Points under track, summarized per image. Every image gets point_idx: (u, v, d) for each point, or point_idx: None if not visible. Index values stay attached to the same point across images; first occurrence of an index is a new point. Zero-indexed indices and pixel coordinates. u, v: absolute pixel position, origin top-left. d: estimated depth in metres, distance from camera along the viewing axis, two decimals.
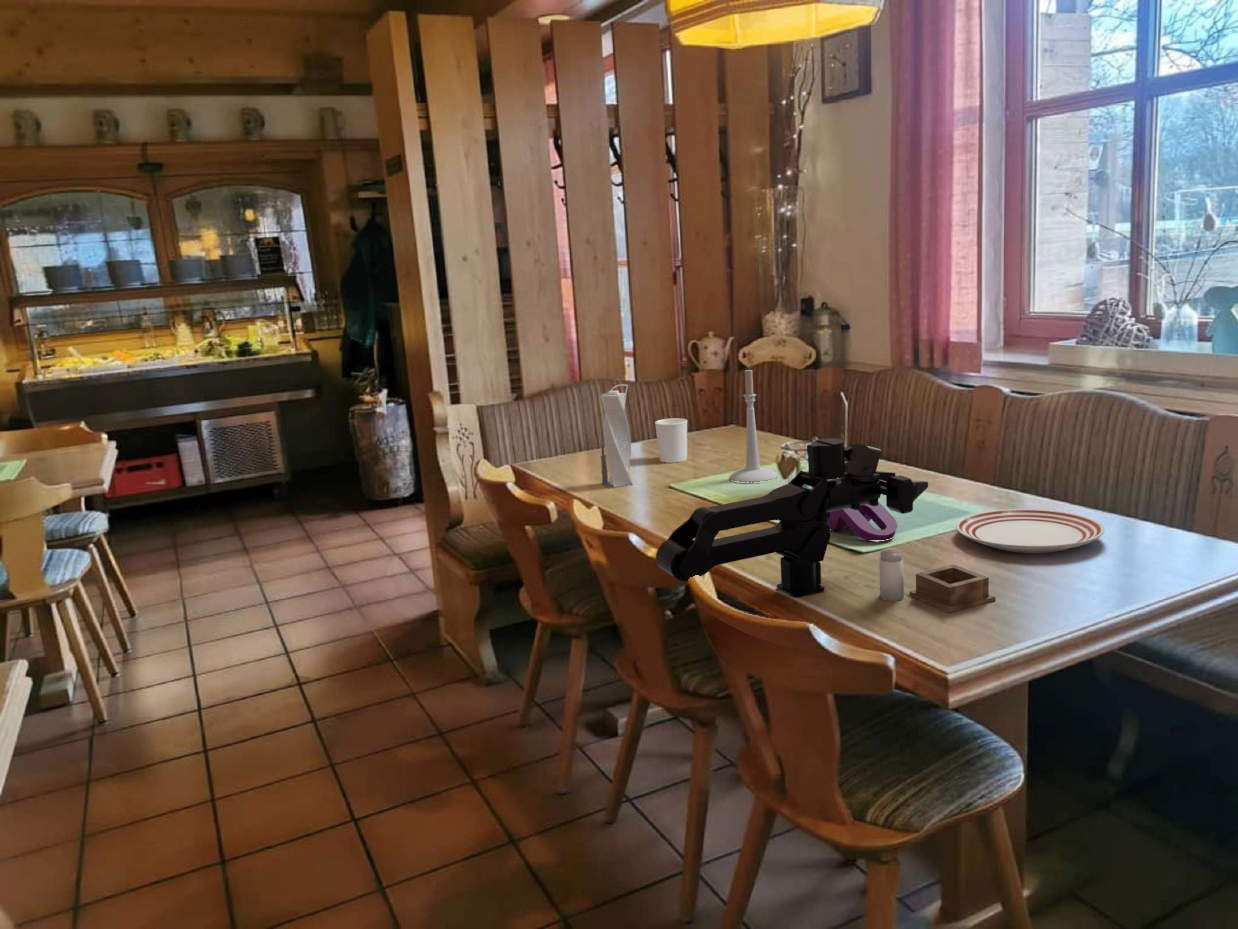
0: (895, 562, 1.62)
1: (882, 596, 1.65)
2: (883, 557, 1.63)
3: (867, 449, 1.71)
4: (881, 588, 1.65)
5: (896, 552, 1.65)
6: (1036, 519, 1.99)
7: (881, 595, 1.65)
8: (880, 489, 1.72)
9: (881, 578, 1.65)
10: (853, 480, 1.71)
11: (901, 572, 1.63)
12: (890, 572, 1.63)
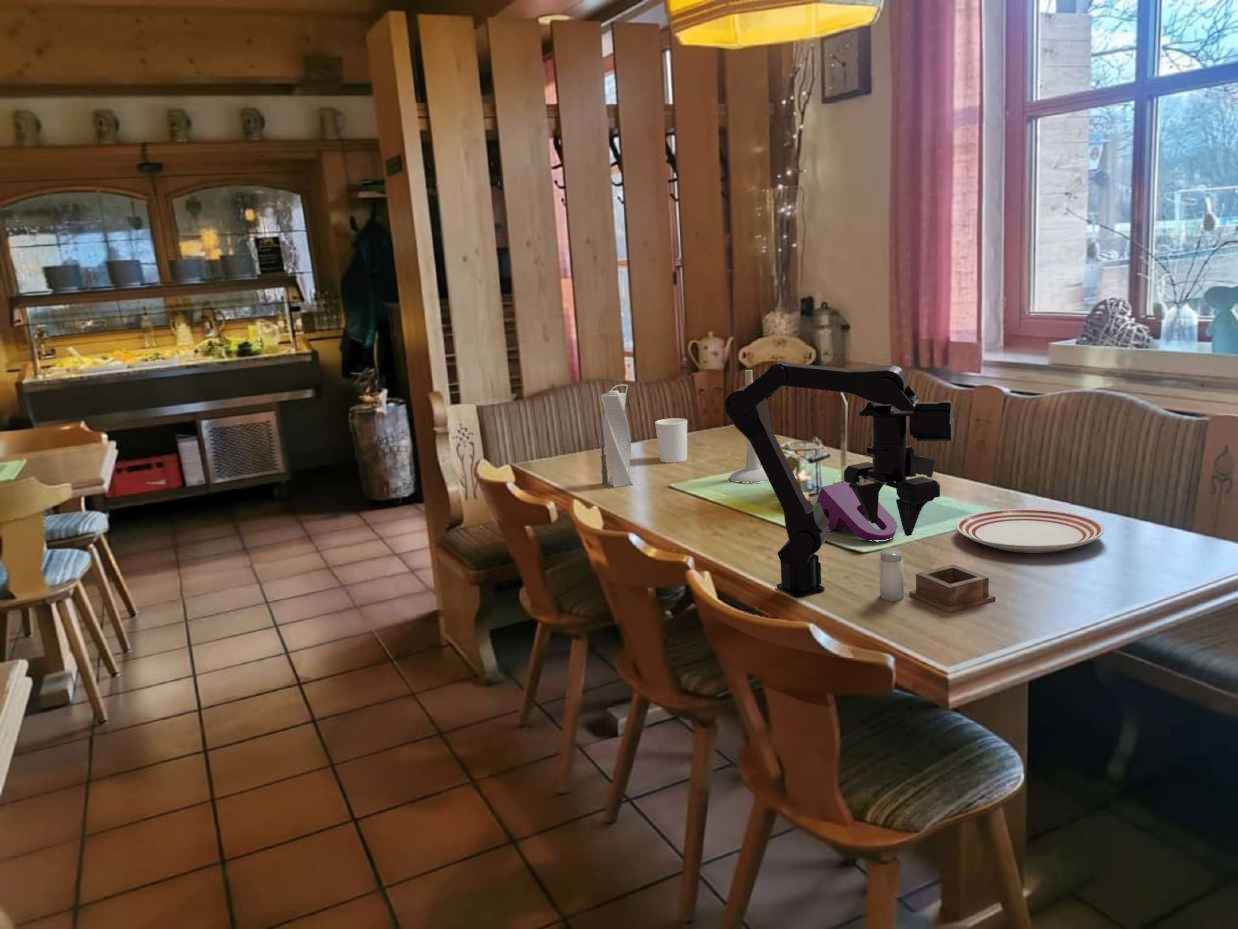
0: (895, 562, 1.62)
1: (882, 596, 1.65)
2: (883, 557, 1.63)
3: (934, 460, 1.62)
4: (881, 588, 1.65)
5: (896, 552, 1.65)
6: (1036, 519, 1.99)
7: (881, 595, 1.65)
8: (903, 479, 1.59)
9: (881, 578, 1.65)
10: (909, 446, 1.59)
11: (901, 572, 1.63)
12: (890, 572, 1.63)
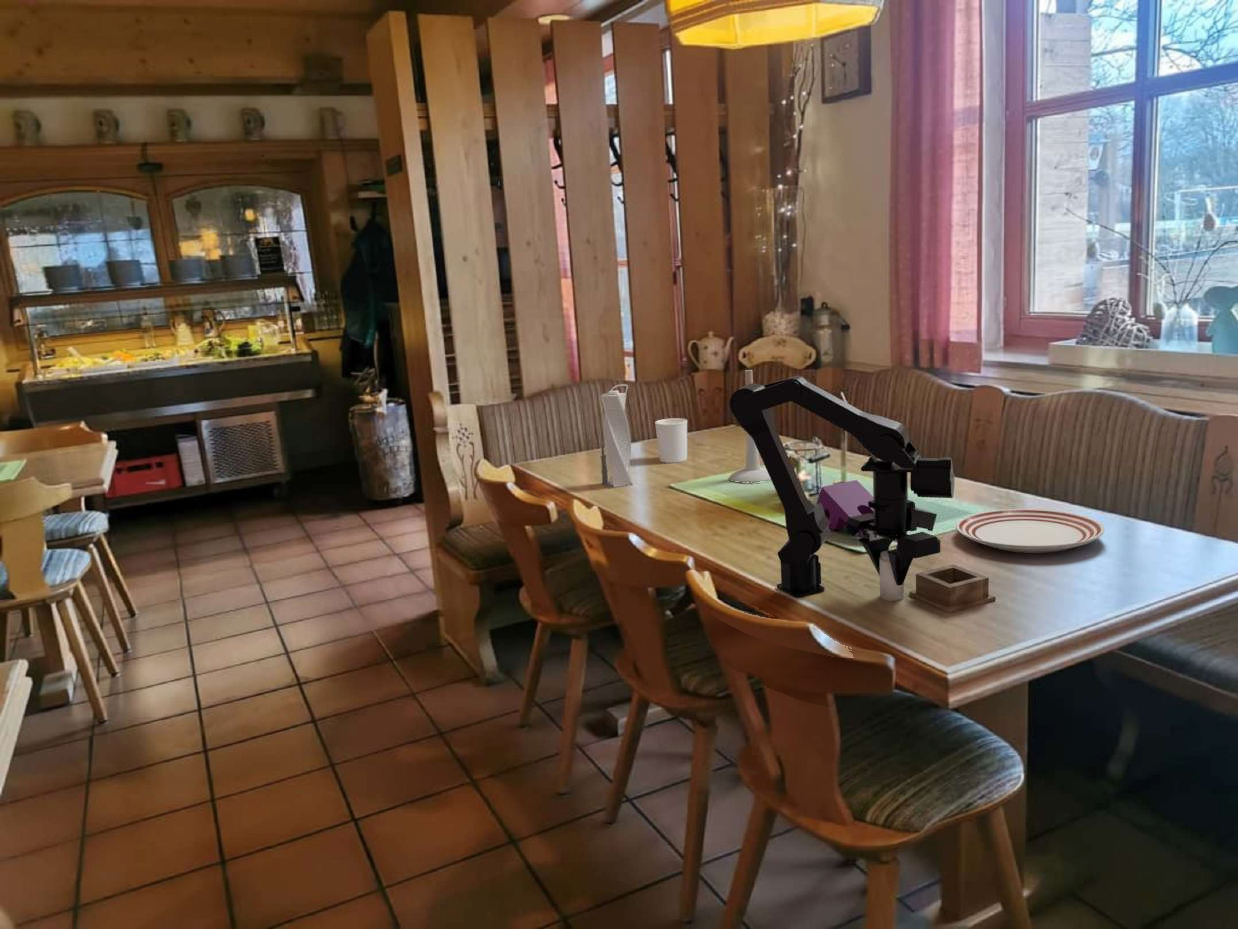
0: None
1: (882, 596, 1.65)
2: (883, 557, 1.63)
3: None
4: (881, 588, 1.65)
5: None
6: (1036, 519, 1.99)
7: (881, 595, 1.65)
8: (904, 533, 1.61)
9: (881, 578, 1.65)
10: (910, 501, 1.61)
11: None
12: (890, 572, 1.63)
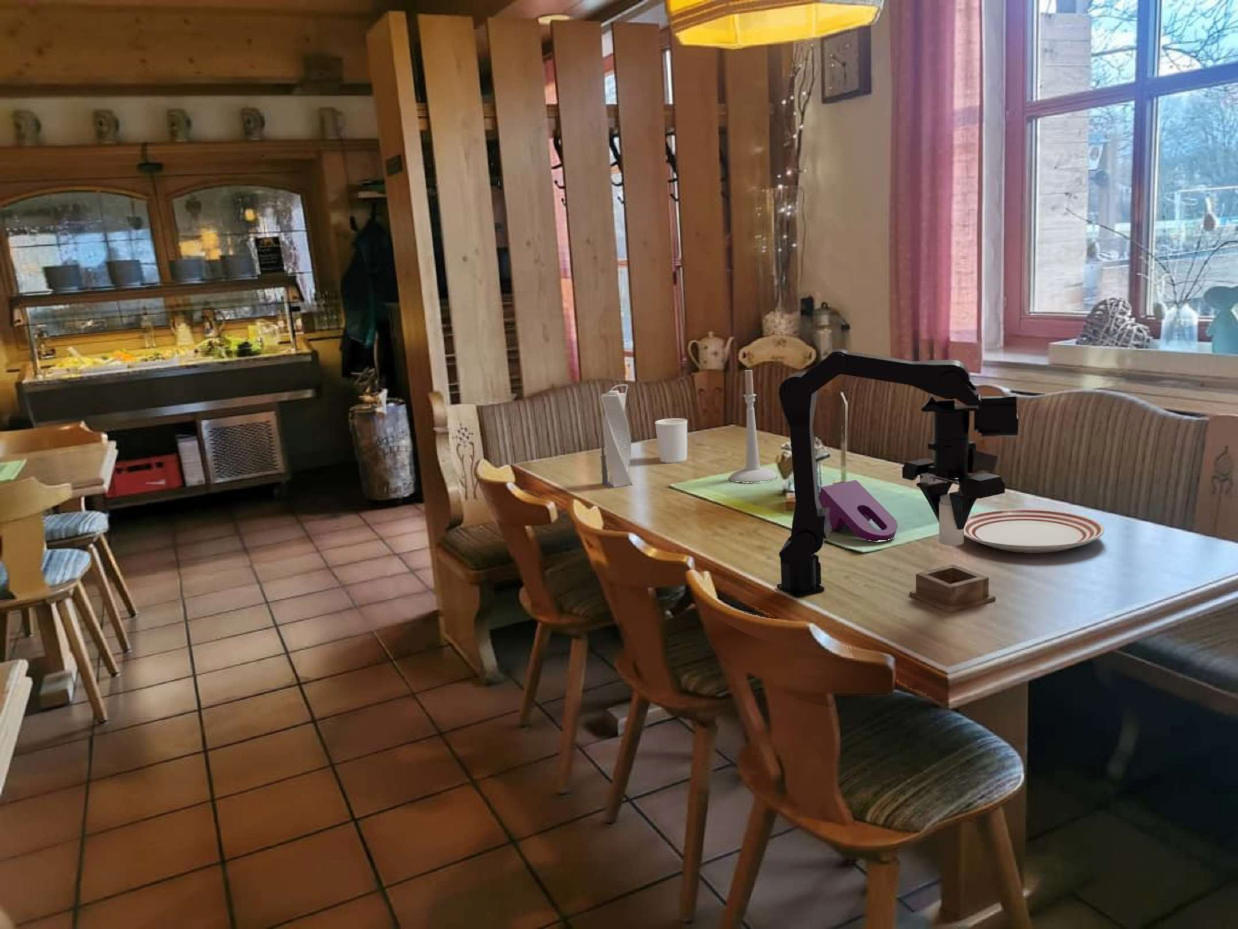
0: None
1: (942, 541, 1.60)
2: (943, 500, 1.59)
3: (996, 456, 1.59)
4: (941, 533, 1.60)
5: None
6: (1036, 519, 1.99)
7: (940, 540, 1.61)
8: (966, 475, 1.56)
9: (941, 522, 1.60)
10: (972, 442, 1.57)
11: None
12: (951, 516, 1.58)
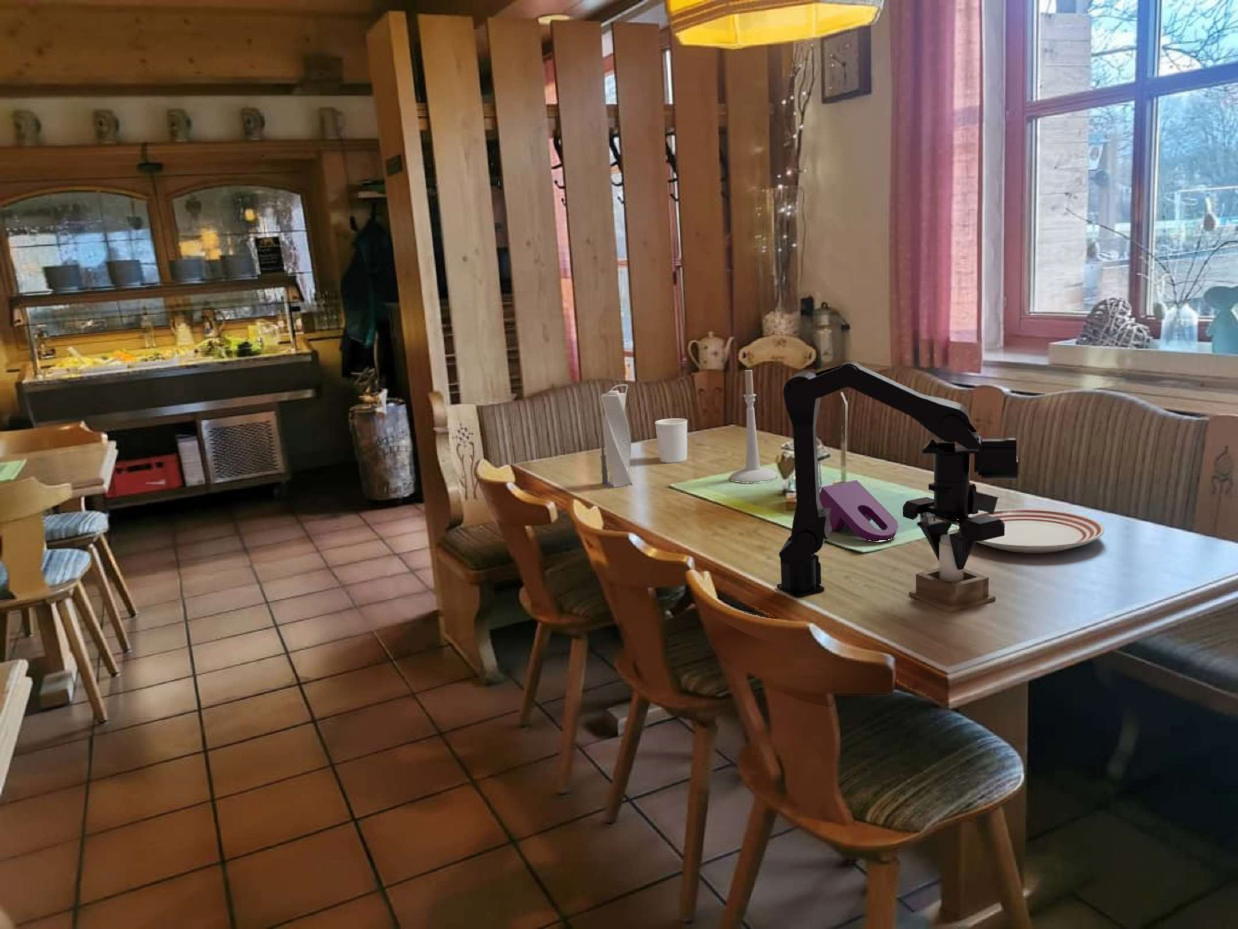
0: None
1: (942, 580, 1.62)
2: (943, 541, 1.60)
3: None
4: (941, 572, 1.62)
5: None
6: (1036, 519, 1.99)
7: (940, 579, 1.62)
8: (966, 516, 1.57)
9: (941, 562, 1.62)
10: (972, 483, 1.58)
11: None
12: (951, 556, 1.60)
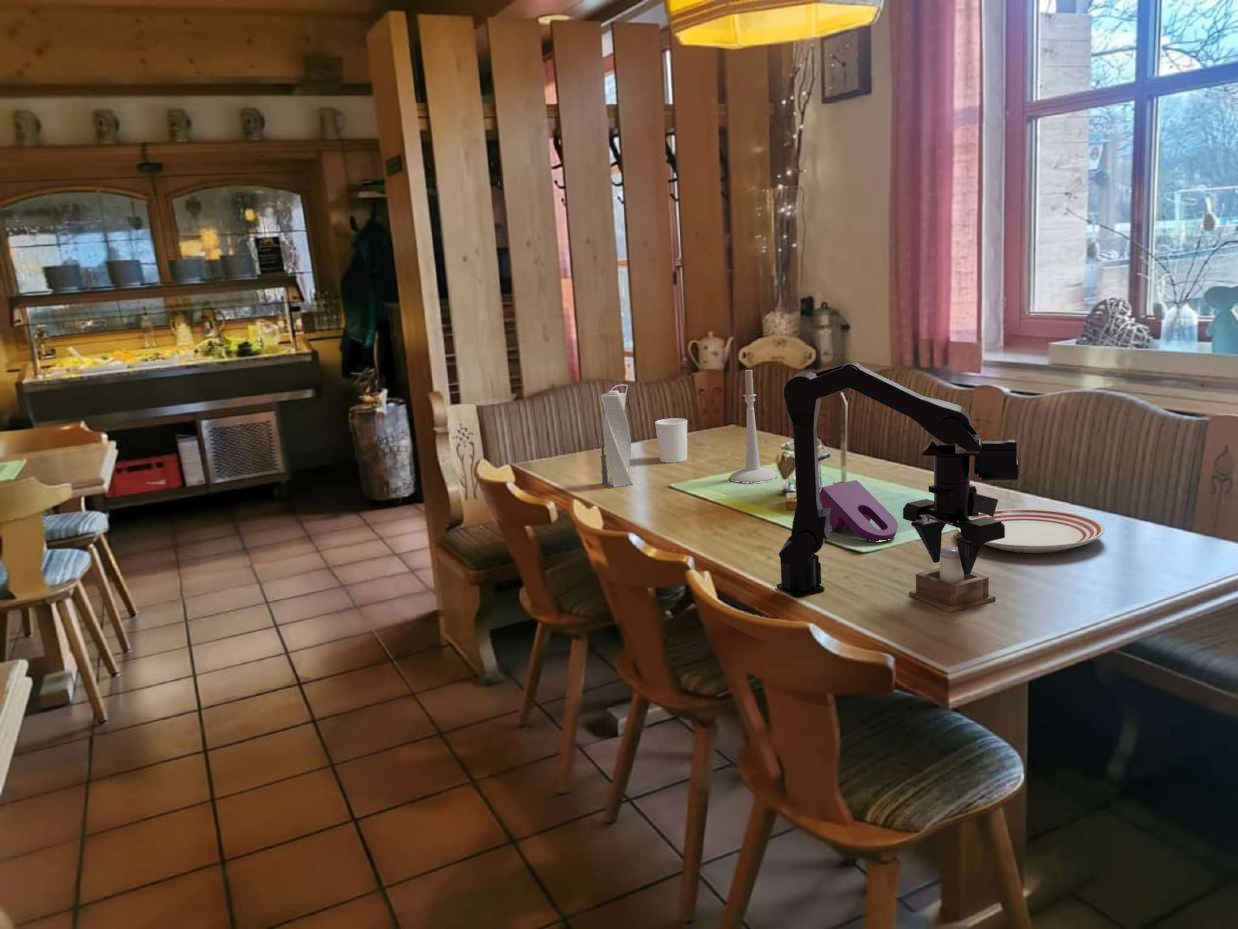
0: (956, 559, 1.60)
1: None
2: (944, 554, 1.61)
3: (996, 499, 1.61)
4: None
5: (957, 549, 1.62)
6: (1036, 519, 1.99)
7: None
8: (966, 518, 1.58)
9: (941, 575, 1.62)
10: (972, 485, 1.58)
11: (962, 569, 1.61)
12: (951, 569, 1.60)
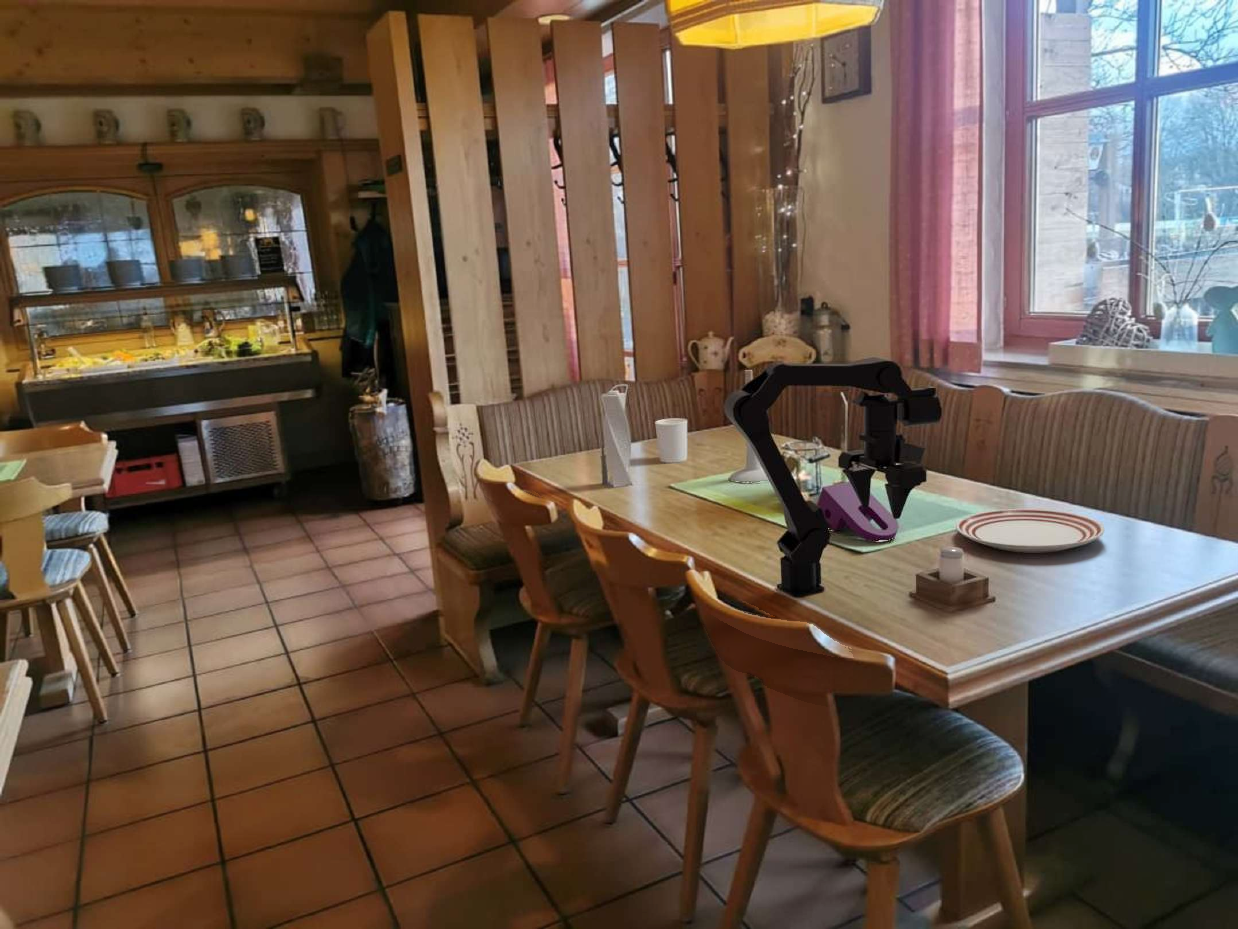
0: (956, 559, 1.60)
1: None
2: (943, 554, 1.61)
3: None
4: None
5: (956, 549, 1.62)
6: (1036, 519, 1.99)
7: None
8: (892, 464, 1.67)
9: (941, 575, 1.62)
10: (899, 434, 1.68)
11: (962, 569, 1.61)
12: (951, 569, 1.60)
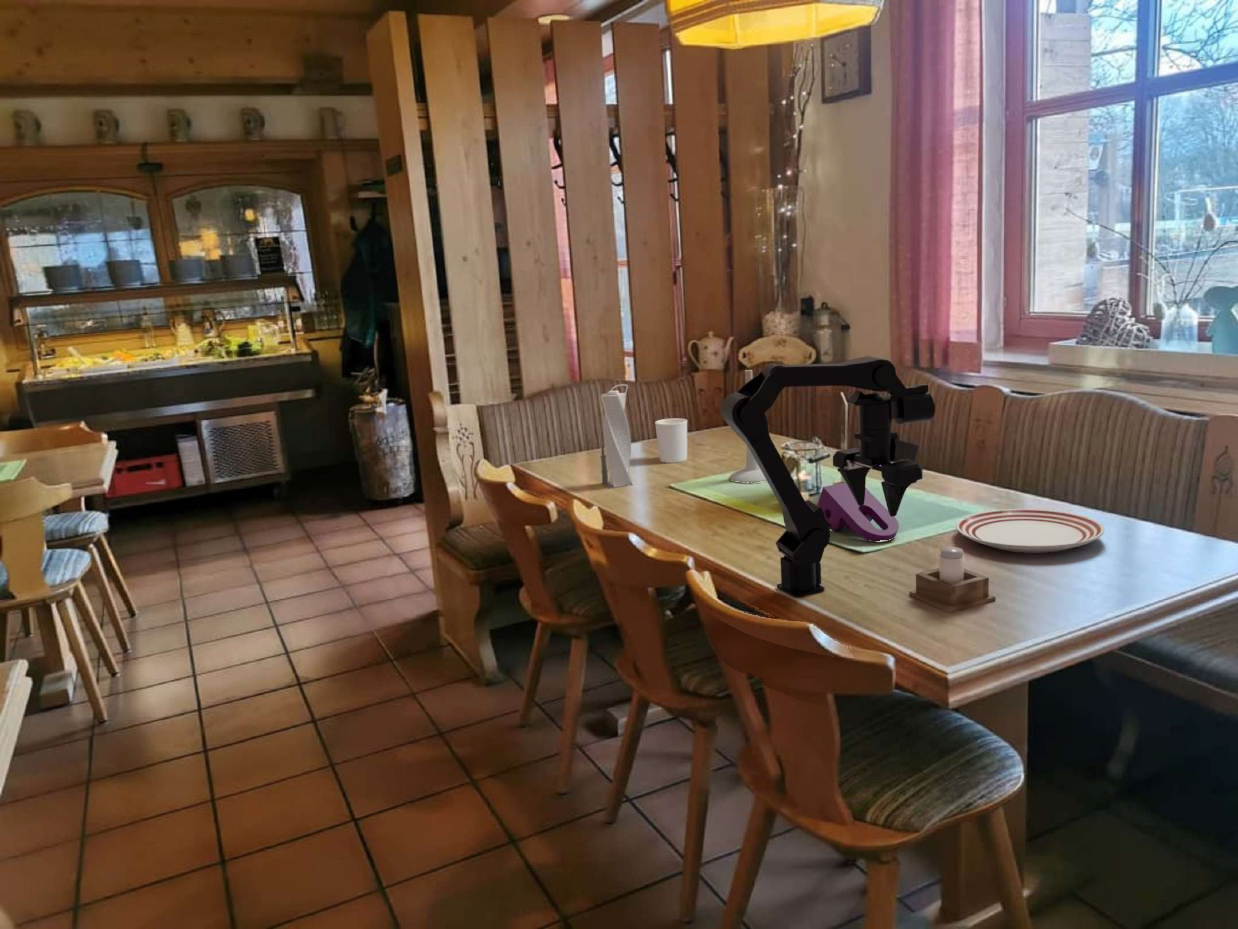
0: (956, 559, 1.60)
1: None
2: (944, 554, 1.61)
3: (918, 445, 1.71)
4: None
5: (956, 549, 1.62)
6: (1036, 519, 1.99)
7: None
8: (888, 462, 1.68)
9: (941, 575, 1.62)
10: (894, 432, 1.69)
11: (962, 569, 1.61)
12: (951, 569, 1.60)
